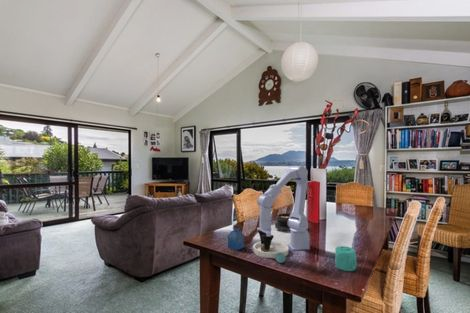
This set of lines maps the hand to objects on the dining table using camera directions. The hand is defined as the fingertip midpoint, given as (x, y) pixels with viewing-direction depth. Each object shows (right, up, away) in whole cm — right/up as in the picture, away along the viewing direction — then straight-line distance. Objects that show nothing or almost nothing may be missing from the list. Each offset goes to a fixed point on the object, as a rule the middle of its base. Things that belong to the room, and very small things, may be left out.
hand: (265, 246), depth 123 cm
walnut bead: (0, -3, 0) cm, 3 cm away
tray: (+3, -4, +4) cm, 7 cm away
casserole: (+22, -5, +49) cm, 54 cm away
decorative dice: (+34, -4, -14) cm, 37 cm away
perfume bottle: (-15, -4, +10) cm, 18 cm away
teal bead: (+6, -4, -10) cm, 12 cm away
